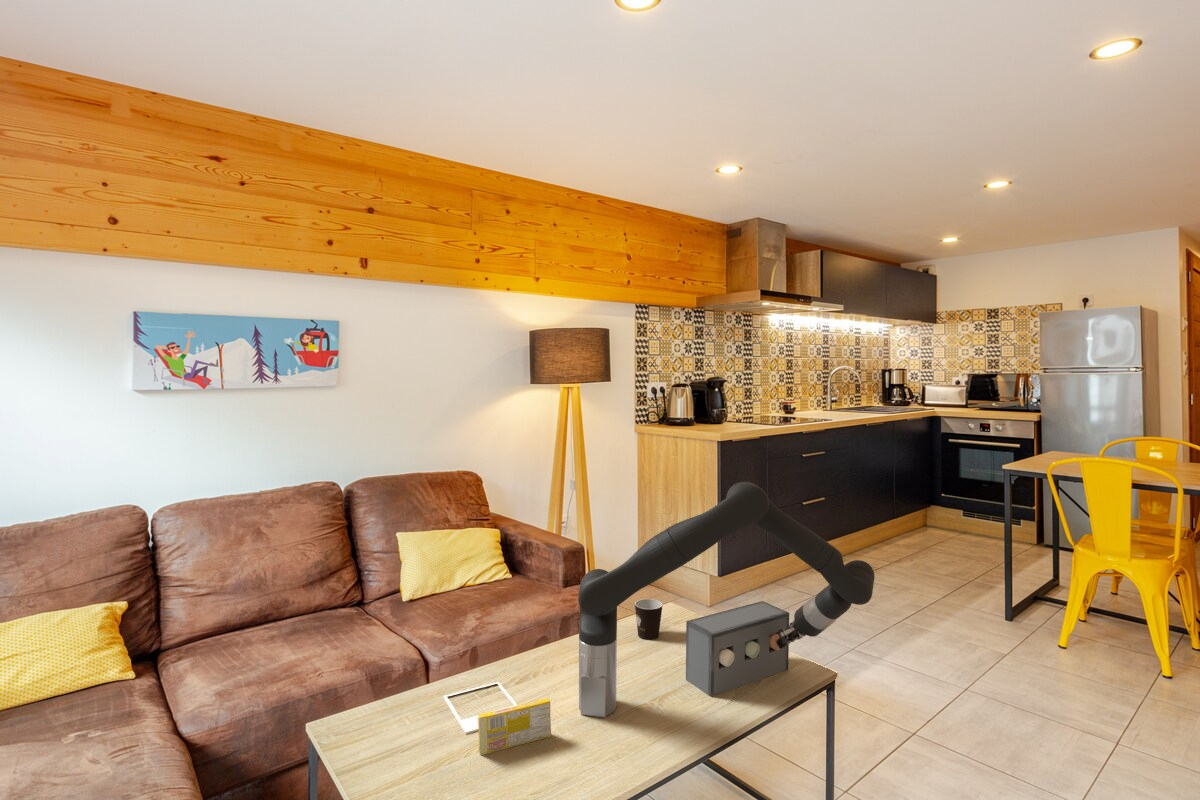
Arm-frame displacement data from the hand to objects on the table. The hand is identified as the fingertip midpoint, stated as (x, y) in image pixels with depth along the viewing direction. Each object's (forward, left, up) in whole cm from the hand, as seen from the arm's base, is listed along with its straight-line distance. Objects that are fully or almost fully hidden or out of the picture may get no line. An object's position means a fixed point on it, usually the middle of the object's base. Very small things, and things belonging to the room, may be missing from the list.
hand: (779, 644), depth 168 cm
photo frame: (-34, +71, -9) cm, 79 cm away
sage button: (-3, +9, -2) cm, 10 cm away
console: (-2, +11, -9) cm, 14 cm away
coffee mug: (+18, +39, -9) cm, 44 cm away
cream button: (-10, +15, -2) cm, 18 cm away
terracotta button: (+3, +3, -2) cm, 4 cm away
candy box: (-46, +58, -9) cm, 74 cm away
